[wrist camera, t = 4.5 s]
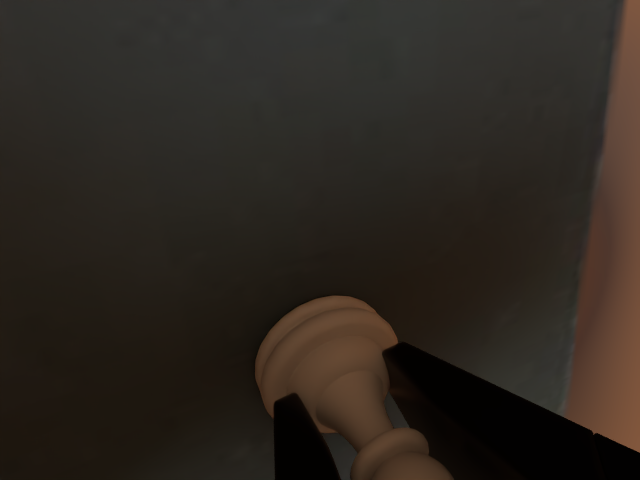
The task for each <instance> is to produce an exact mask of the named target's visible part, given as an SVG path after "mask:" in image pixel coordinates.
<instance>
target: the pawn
mask: <svg viewBox="0 0 640 480" xmlns="http://www.w3.org/2000/svg"><path fill="white" fill-rule="evenodd" d="M397 343H398V340H397V337H396V335H395V333H394V331H393V329H392V328H391V326H390V324H389V323H388V322H386V321H385V320H384V319H383V318H382V317H380V316H379V315H378V314H377V313H376V311H375V310H374V309H373V308H372V307H370V306H369V305H368V304H367V303H365V302H364V301H362V300H359V299H356V298H353V297H350V296H335V295H333V296H327V297H322V298H317V299H314V300H312V301H309V302H307V303H305V304H302V305H300V306H298V307H297V308H295V309H294V310H292V311H291V312H289V313H288V314H286V315H285V316H283V317H282V318H281V319H280V320H279V321H278V322H277V323H276V324H275V325H274V326H273V327H272V329H271V330H270V331H269V332H268V334H267V336H266V337H265V339H264V340H263V342H262V344H261V345H260V348H259V351H258V354H257V357H256V360H255V379H256V382H257V384H258V387H259V390H260V392H261V397H262V400H263V403H264V405H265V408H266V411H267V412H268V413H269V414H270V415H271V417H272V418H273V419H274V414H273V405H274V402H275V401H276V400H278V399H280V398H282V397H284V396H286V395H288V394H290V393H293V392H294V393H297V394H298V395H299V397H300V399H301V400H302V402H303V404H304V405H305V407H306V409H307V411H308V412H309V414H310V416H311V417H312V419H313V421H314V423H315V424H316V426H317V428H318V429H319V431H320V432H322V433H336V432H337V433H339V434H340V435H342V436H343V437H344V438H345V439H346V440H347V441H348V442H349V443H350V444H351V445H352V446H353V447H354V449H355V450H356V452H357V453H358V455H357V456H356V457H355V459H354V462H353V464H352V467H351V473H350V478H351V480H454V479H453V477H452V475H451V474H450V472H449V471H448V470H447V469H446V467H445V466H444V465H442V464H441V463H440V462H439V461H437V460H436V459H434V458H432V457H430V456H428V454H429V447H428V442H427V440H426V439H425V437H424V435H423V434H422V433H420V432H419V431H417V430H415V429H411V428H406V427H404V428H395V429H394V427H393V426H392V424H391V422H390V420H389V417H388V415H387V412H386V409H385V405H384V400H385V398H386V395H387V393H388V391H389V388H390V380H389V374H388V370H387V367H386V363H385V361H384V358H383V356H382V352H383V350H384V349H386V348H389V347H391V346H393V345H395V344H397Z"/></svg>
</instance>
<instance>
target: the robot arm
mask: <svg viewBox="0 0 640 480" xmlns="http://www.w3.org/2000/svg"><path fill="white" fill-rule="evenodd" d="M382 356H383V358H384V361H385V363H386V367H387V370H388V374H389V380H390V388H389V392H390V394H391V396H392V397H393V399H394V401H395V403H396V404H397V406H398V408H399V409H400V411H401V413H402V415H403V416H404V418H405V420H406V421H407V423H408V425H409V427H410V428H411V429H415V430H417V431H419V432H420V433H422V434H423V435H424V437H425V439H426V440H427V442H428V447H429V454H428V456H430V457H432V458H434V459H436V460H437V461H439V462H440V463H441V464H442V465H444V466H445V467H446V469H447V470H448V471H449V472H450V474H451V475H452V477H453V479H454V480H640V453H639V452H637V451H635V450H633V449H630V448H628V447H626V446H624V445H621V444H619V443H617V442H615V441H613V440H611V439H609V438H607V437H604V436H602V435H600V434H598V433H595V434H594V435H593V432H592V431H591V430H589V429H587V428H585V427H583V426H580V425H579V424H576V423H574V422H572V421H570V420H568V419H566V418H564V417H562V416H560V415H558V414H555V413H553V412H551V411H549V410H547V409H545V408H543V407H541V406H539V405H536V404H534V403H532V402H530V401H528V400H526V399H524V398H522V397H520V396H517V395H515V394H513V393H511V392H509V391H507V390H505V389H503V388H501V387H498V386H496V385H494V384H492V383H490V382H488V381H486V380H484V379H482V378H479V377H477V376H475V375H473V374H471V373H469V372H467V371H465V370H463V369H460V368H458V367H456V366H454V365H452V364H450V363H448V362H446V361H444V360H441V359H439V358H437V357H435V356H433V355H431V354H429V353H427V352H425V351H422V350H420V349H418V348H416V347H414V346H412V345H410V344H408V343H405V342H400V343H397V344H395V345H393V346H391V347H389V348H386V349H384V350H383V352H382ZM273 414H274V457H275V480H341V479H340V476H339V473H338V470H337V467H336V465H335V462H334V459H333V457H332V454H331V452H330V449H329V447H328V445H327V443H326V442H325V440H324V438H323V436H322V434H321V433H320V431H319V429H318V428H317V426H316V424H315V423H314V421H313V419H312V417H311V416H310V414H309V412H308V411H307V409H306V407H305V405H304V404H303V402H302V400H301V399H300V397H299V395H298V394H297V393H294V392H293V393H290V394H288V395H286V396H284V397H282V398H280V399H278V400H276V401H275V402H274V405H273Z"/></svg>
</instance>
